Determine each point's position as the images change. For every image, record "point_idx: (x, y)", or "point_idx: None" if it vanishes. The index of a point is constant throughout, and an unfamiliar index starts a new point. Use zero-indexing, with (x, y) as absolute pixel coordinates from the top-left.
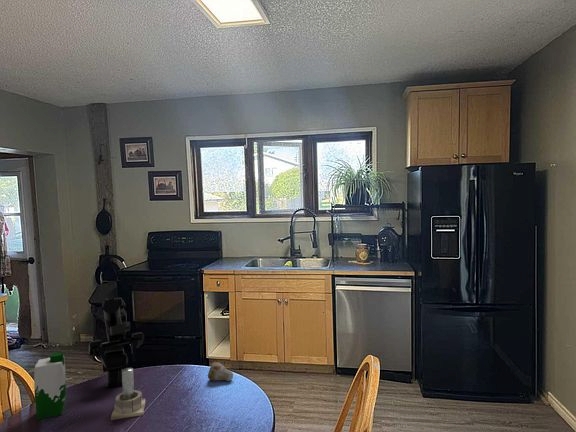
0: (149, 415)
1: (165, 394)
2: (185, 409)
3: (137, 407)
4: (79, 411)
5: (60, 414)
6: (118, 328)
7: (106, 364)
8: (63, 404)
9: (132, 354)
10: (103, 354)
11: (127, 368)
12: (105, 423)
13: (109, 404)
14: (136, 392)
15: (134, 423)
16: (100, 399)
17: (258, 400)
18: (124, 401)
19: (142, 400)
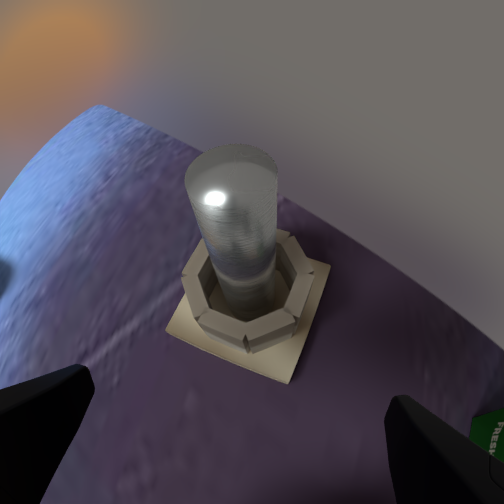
0: None
1: (93, 329)
2: (119, 197)
3: None
4: None
5: (476, 417)
6: None
7: (408, 406)
8: (486, 429)
9: (39, 415)
10: (497, 494)
11: (218, 200)
12: (348, 261)
13: (309, 414)
14: (201, 287)
15: None
16: (332, 487)
17: (34, 163)
18: (279, 232)
19: (183, 320)
